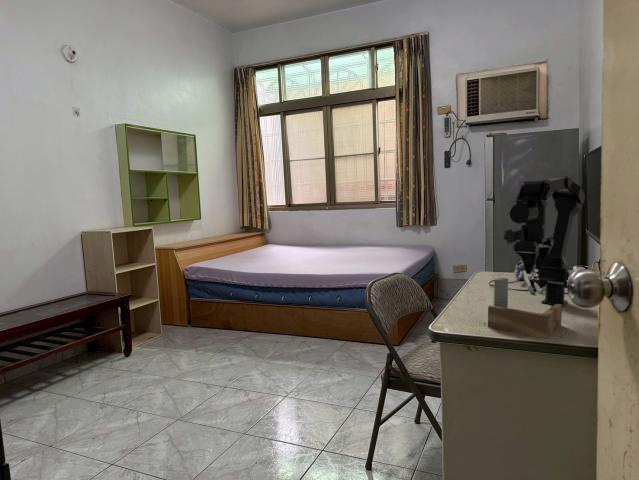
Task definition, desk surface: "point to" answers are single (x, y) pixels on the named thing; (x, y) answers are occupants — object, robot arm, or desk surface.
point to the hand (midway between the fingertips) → (533, 271)
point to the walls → (525, 320)
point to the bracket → (501, 292)
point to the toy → (527, 277)
